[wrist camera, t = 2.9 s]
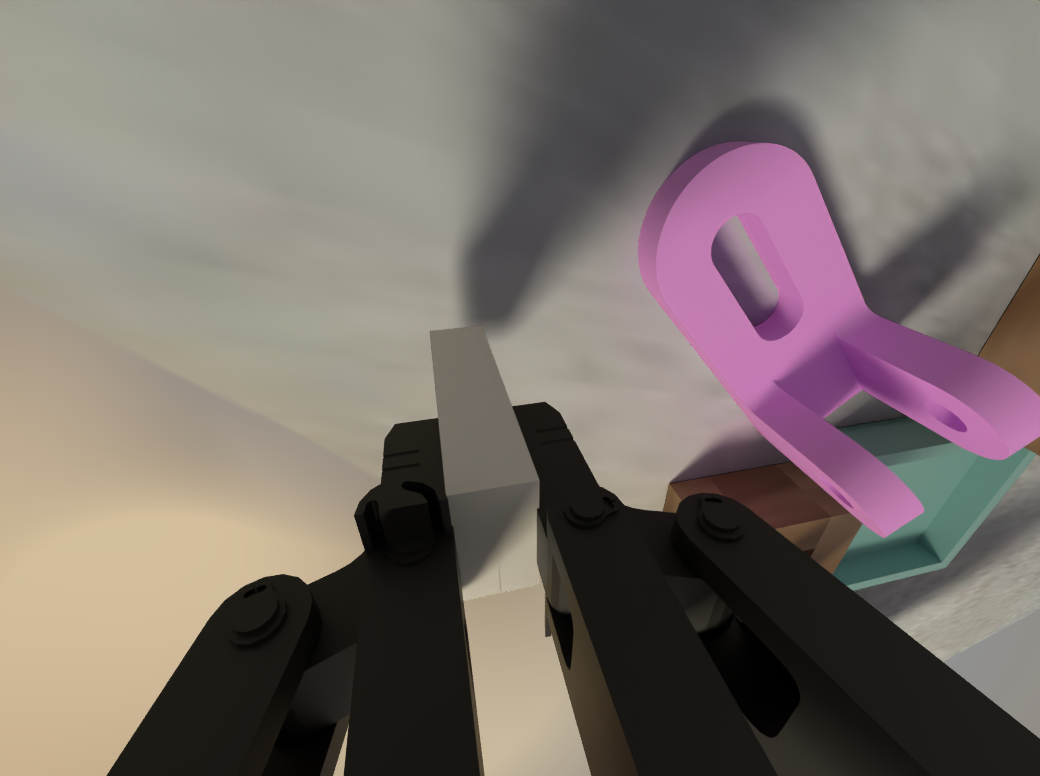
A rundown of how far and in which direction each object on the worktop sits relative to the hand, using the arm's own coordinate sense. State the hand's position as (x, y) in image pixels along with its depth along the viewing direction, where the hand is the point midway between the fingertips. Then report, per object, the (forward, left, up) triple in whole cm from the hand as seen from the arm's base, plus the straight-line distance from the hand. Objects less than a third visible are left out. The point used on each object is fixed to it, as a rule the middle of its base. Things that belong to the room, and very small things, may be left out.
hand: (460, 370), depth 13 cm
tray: (+13, +24, -2) cm, 27 cm away
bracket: (0, +12, -2) cm, 12 cm away
